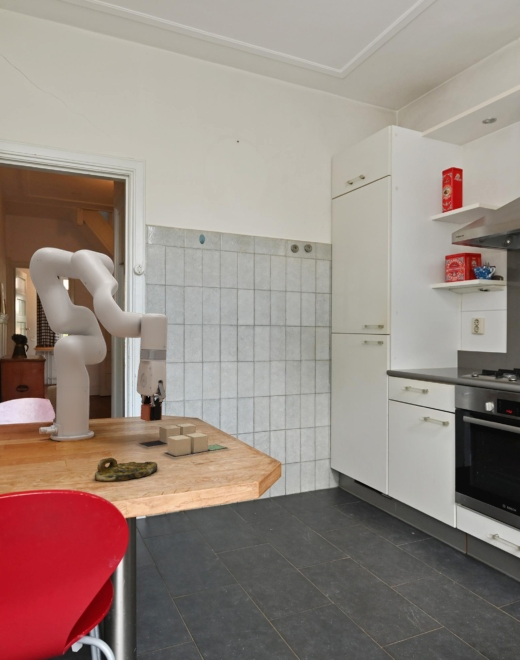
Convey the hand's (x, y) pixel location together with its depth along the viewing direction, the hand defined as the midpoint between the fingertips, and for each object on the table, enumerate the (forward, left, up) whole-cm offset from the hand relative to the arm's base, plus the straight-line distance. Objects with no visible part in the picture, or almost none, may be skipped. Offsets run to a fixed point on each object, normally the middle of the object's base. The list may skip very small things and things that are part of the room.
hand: (151, 418), depth 139 cm
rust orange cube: (0, 0, 0) cm, 0 cm away
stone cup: (-9, +46, -8) cm, 48 cm away
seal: (-18, -25, -8) cm, 32 cm away
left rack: (+6, -1, -8) cm, 10 cm away
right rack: (+6, -16, -8) cm, 18 cm away
